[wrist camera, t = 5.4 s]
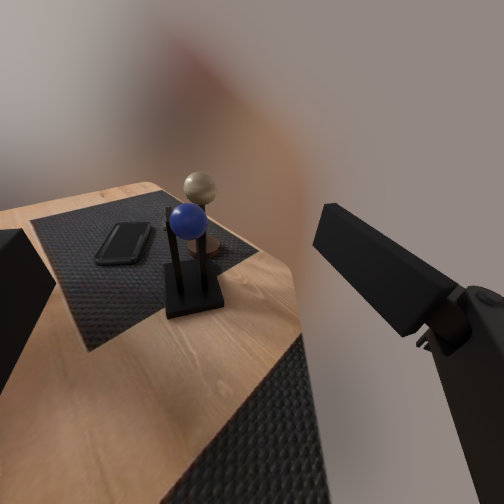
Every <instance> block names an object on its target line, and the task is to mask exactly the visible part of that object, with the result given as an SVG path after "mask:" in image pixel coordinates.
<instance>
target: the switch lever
mask: <svg viewBox="0 0 504 504" xmlns="http://www.w3.org/2000/svg"><path fill="white" fill-rule="evenodd" d="M207 225H208V220H207V216H206V214H205V212H204V211H203V209H201V208H200V207H199V206H197V205H195V204H191V203H184V204H181V205H179V206H177V207H176V208H175V209H174V210H173V211H172V213H171V215H170V227H171V229H172V231H173V232H174V233H175V235H177V236H178V237H179V238H181V239H184V240H194V239H197V238H199V237H201V236H202V235H203V234H204V232H205V231H206V229H207Z"/></svg>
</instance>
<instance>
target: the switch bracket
mask: <svg viewBox="0 0 504 504" xmlns="http://www.w3.org/2000/svg"><path fill="white" fill-rule="evenodd" d="M197 206H199V205H197ZM199 207H200V206H199ZM171 213H172V207H168V208H165V221H162V224H163V230H164V231H167V234H168V240H169V245H170V251H171V257H172V262H173V263H167V264H164V284H165V306H166V316H167V319H171V318H176V317H180V316H185V315H189V314H194V313H199V312H203V311H208V310H212V309H217V308H221V307H224V299H223V296H222V292H221V289H220V286H219V283H218V280H217V276H216V273H215V270H214V267H213V264H212V261H211V258H206V244H205V232H204V234H203V235H202V236H201V237H199V238H197V239H196V250H197V259H195V260H188V261H181V262H180V260H179V253H178V246H177V240H176V235H175V233H174V232H173V231H172V229H171V227H170V215H171Z"/></svg>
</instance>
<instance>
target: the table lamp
mask: <svg viewBox="0 0 504 504" xmlns="http://www.w3.org/2000/svg"><path fill="white" fill-rule="evenodd" d="M184 192H185V194H186V197H187V198H188V199H189V200H190V201H191V202H192V203H194V204H197V205H199V206H200V208H201V209H203V211H204V212H205V205H206V204H209V203H210V202H211V201H213V199H214V198H215V196H216V193H217V186H216V183H215V181H214V179H213V178H212V177H211V176H210V175H208V174H207V173H204V172H195V173H192V174H191V175H189V176H188V177H187V179H186V180H185V184H184ZM205 244H206V258H212V257H214V256H216V255H217V254H218V253H219V252H220V242H219V240H218V239H216V238H214V237H212V236H206V231H205ZM188 252H189V254H190V255H191V256H192V257H195V258H197V250H196V239H194V240H190V241H189V242H188Z"/></svg>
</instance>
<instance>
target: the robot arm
mask: <svg viewBox="0 0 504 504" xmlns="http://www.w3.org/2000/svg"><path fill="white" fill-rule="evenodd" d="M313 246H314V247H315V248H316V249H317V250H318V251H319V252H320V254H322V256H323V257H324V258H325V259H326V260H327V261H328V262H329V263H330V264H331V265H332V266H333V267H334V268H335V269H336V270H337V271H338V272H339V273H340V274H341V275H342V276H343V277H344V278H345V279H346V280H347V281H348V282H349V283H350V284H351V285H352V286H353V287H354V288H355V289H356V291H358V292H359V294H360V295H361V296H363V298H364V299H365V300H366V301H367V302H368V303H369V304H370V305H371V306H372V307H373V308H374V309H375V310H376V311H377V312H378V313H379V314H380V315H381V316H382V317H383V318H384V319H385V320H386V321H387V322H388V323H389V324H390V325H391V326H392V328H393V329H394V330H396V332H397V333H398V334H399V335H400V336H401V337H405V336H408V335H411V334H414V333H416V332H417V331H418V330H419V329H420V328H421V326H422V325H423V324H424V323H425V324H426V325H427V326H428V327H430V328H429V329H428V330H427V331H426V332H425V333H424V334H423V335H422V337H420V339H419V340H418V341H417V342H416V347H420V346H421V345H422V344H423V343H424V342H425V341H428V343H427V344H426V345H425V346H424V349H425V350H428V351H431V352H432V355H433V358H434V362H435V365H436V368H437V371H438V374H439V377H440V380H441V383H442V386H443V390H444V393H445V396H446V399H447V402H448V405H449V408H450V411H451V415H452V417H453V421H454V424H455V427H456V430H457V433H458V437H459V440H460V443H461V446H462V449H463V452H464V455H465V458H466V462H467V465H468V468H469V471H470V474H471V477H472V480H473V483H474V486H475V490H476V493H477V496H478V499H479V502H480V504H504V297H502V296H501V295H499V294H497V293H495V292H493V291H491V290H489V289H486V288H483V287H479V286H468V287H467V288H466V289H465V288H463V287H462V286H460V285H459V284H458V283H456V282H455V281H453V280H452V279H450V278H449V277H447V276H446V275H444V274H443V273H441V272H440V271H438V270H437V269H435V268H433V267H432V266H430V265H429V264H427V263H426V262H424V261H423V260H421V259H420V258H418V257H417V256H415V255H414V254H412V253H411V252H409V251H408V250H406V249H405V248H403V247H402V246H400V245H399V244H397V243H396V242H394V241H393V240H391V239H390V238H388V237H386V236H385V235H383V234H382V233H380V232H379V231H377V230H376V229H374V228H373V227H371V226H370V225H368V224H367V223H365V222H364V221H362V220H361V219H359V218H358V217H356V216H355V215H353V214H352V213H350V212H349V211H347V210H346V209H344V208H342V207H341V206H339V205H338V204H337V203H331V204H324V207H323V211H322V214H321V218H320V221H319V224H318V228H317V231H316V235H315V238H314V241H313ZM55 285H56V282H55V280H54V278H53V277H52V275H51V274H50V272H49V270H48V269H47V267H46V266H45V264H44V262H43V261H42V259H41V258H40V256H39V255H38V253H37V251H36V250H35V248H34V247H33V245H32V243H31V242H30V240H29V239H28V237H27V235H26V234H25V232H24V231H23V229H22V228H20V229H7V230H0V395H1V393H2V391H3V389H4V387H5V385H6V383H7V381H8V379H9V377H10V375H11V373H12V371H13V369H14V367H15V365H16V363H17V361H18V359H19V357H20V355H21V353H22V351H23V349H24V347H25V345H26V343H27V341H28V339H29V337H30V335H31V333H32V331H33V329H34V327H35V325H36V323H37V321H38V319H39V317H40V315H41V313H42V311H43V309H44V307H45V305H46V303H47V301H48V299H49V297H50V295H51V293H52V291H53V289H54V287H55Z"/></svg>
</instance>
